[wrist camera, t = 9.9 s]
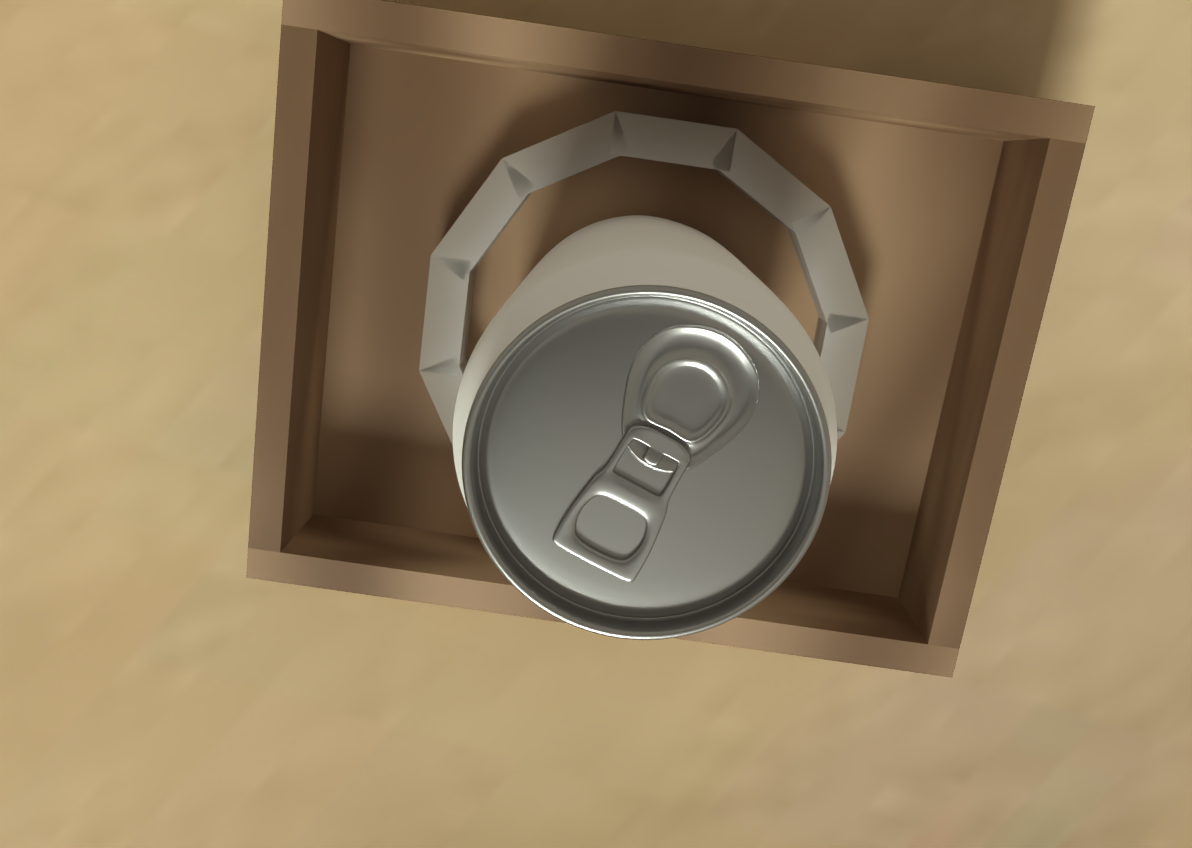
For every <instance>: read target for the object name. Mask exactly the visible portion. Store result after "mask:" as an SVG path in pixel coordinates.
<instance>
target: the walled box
mask: <svg viewBox="0 0 1192 848" xmlns="http://www.w3.org/2000/svg"><path fill="white" fill-rule="evenodd" d="M1094 108H1095V106H1090V105H1083V104H1076V103H1070V102H1063V101H1056V100H1049V99H1043V98H1036V97H1029V96H1022V95H1016V94H1009V93H1002V92H996V91H989V90H982V89H975V88H969V87H962V86H955V85H948V84H942V83H935V82H928V81H921V80H915V79H908V78H901V77H895V76H888V75H881V74H874V73H868V72H861V71H854V70H847V69H841V68H834V67H827V66H820V65H814V64H807V63H800V62H794V61H787V60H780V59H773V58H767V57H760V56H753V55H746V54H740V53H733V52H726V51H719V50H713V49H706V48H699V47H693V46H686V45H679V44H672V43H666V42H659V41H652V40H645V39H639V38H632V37H625V36H618V35H612V34H605V33H598V32H591V31H585V30H578V29H571V28H565V27H558V26H551V25H544V24H538V23H531V22H524V21H517V20H511V19H504V18H497V17H490V16H484V15H477V14H470V13H464V12H457V11H450V10H443V9H437V8H430V7H423V6H416V5H410V4H403V3H396V2H389V1H383V0H283V7H282V23H281V39H280V54H279V70H278V86H277V102H276V118H275V133H274V149H273V165H272V181H271V196H270V212H269V228H268V244H267V259H266V275H265V291H264V307H263V322H262V338H261V354H260V370H259V385H258V401H257V417H256V433H255V448H254V464H253V480H252V496H251V511H250V527H249V543H248V559H247V575H246V578H253V579H260V580H267V581H274V582H281V583H288V584H295V585H302V586H309V587H316V588H323V589H330V590H338V591H345V592H352V593H359V594H366V595H373V596H380V597H387V598H394V599H401V600H408V601H415V602H422V603H429V604H436V605H443V606H450V607H458V608H465V609H472V610H479V611H486V612H493V613H500V614H507V615H514V616H521V617H528V618H535V619H542V620H549V621H556V622H563V623H566V622H564V621H562V620H560V619H558V618H556V617H554V616H552V615H551V614H549V613H547V612H546V611H544V610H542V609H541V608H539V607H538V606H536V605H535V604H534V603H532V602H531V601H530V600H529V599H527V598H526V597H525V596H524V595H522V594H521V593H520V592H519V591H518V590H517V589H516V588H515V587H514V586H513V585H512V584H511V583H510V582H509V581H508V580H507V579H506V578H505V577H504V575H503V574H502V573H501V572H500V571H499V569H498V568H497V567H496V565H495V564H494V563H493V561H492V560H491V558H490V557H489V555H488V554H487V552H486V550H485V549H484V547H483V545H482V543H481V541H480V539H479V537H478V535H477V533H476V530H475V528H474V526H473V523H472V520H471V517H470V514H469V511H468V508H467V506H466V503H465V501H464V498H463V495H462V492H461V489H460V486H459V482H458V478H457V474H456V469H455V463H454V454H453V419H454V411H455V404H456V399H457V394H458V390H459V386H460V383H461V379H462V376H463V373H464V371H465V368H466V365H467V363H468V361H469V358H470V356H471V354H472V352H473V350H474V348H475V346H476V344H477V343H478V341H479V339H480V338H481V336H482V334H483V333H484V331H485V329H486V328H487V326H488V325H489V323H490V322H491V321H492V319H493V318H494V316H495V315H496V314H497V312H498V311H499V310H500V309H501V307H502V306H503V305H504V303H505V302H506V301H507V300H508V298H509V297H510V296H511V295H512V293H513V292H514V291H515V290H516V289H517V287H518V286H519V285H520V284H521V282H522V281H523V280H524V279H525V278H526V277H527V275H528V274H529V273H530V272H531V271H532V270H533V268H534V267H535V266H536V265H537V264H538V263H539V262H540V260H541V259H542V258H543V257H544V256H545V255H546V254H547V253H548V252H549V251H550V250H551V249H552V248H554V247H555V246H556V245H557V244H558V243H560V242H561V241H562V240H564V239H565V238H567V237H568V236H570V235H571V234H573V233H574V232H576V231H578V230H580V229H582V228H584V227H586V226H588V225H591V224H593V223H596V222H599V221H602V220H606V219H610V218H614V217H620V216H630V215H644V216H653V217H659V218H664V219H668V220H671V221H675V222H678V223H681V224H684V225H686V226H689V227H691V228H694V229H696V230H698V231H700V232H702V233H704V234H705V235H707V236H709V237H710V238H712V239H713V240H715V241H716V242H718V243H719V244H720V245H722V246H723V247H724V248H725V249H727V250H728V251H729V252H730V253H731V254H733V255H734V256H735V257H736V258H737V259H738V260H739V261H740V262H741V263H743V264H744V265H745V266H746V267H747V268H748V269H749V270H750V271H751V272H752V273H753V274H754V275H755V276H757V277H758V278H759V279H760V280H761V281H762V282H763V283H764V284H765V285H766V286H767V287H768V288H769V289H770V290H771V291H772V292H773V293H774V294H775V295H776V296H777V297H778V298H779V299H780V300H781V301H782V302H783V303H784V304H785V305H786V307H787V308H788V309H789V310H790V311H791V313H792V314H793V315H794V316H795V318H796V319H797V320H798V321H799V323H800V324H801V325H802V327H803V328H804V330H805V331H806V333H807V334H808V336H809V337H810V339H811V341H812V343H813V344H814V346H815V348H816V350H817V352H818V354H819V356H820V358H821V361H822V363H823V366H824V368H825V371H826V374H827V377H828V380H829V383H830V386H831V390H832V394H833V398H834V403H835V410H836V418H837V452H836V460H835V467H834V472H833V476H832V480H831V484H830V489H829V494H828V499H827V503H826V507H825V511H824V514H823V517H822V520H821V523H820V525H819V527H818V530H817V532H816V534H815V536H814V539H813V541H812V542H811V544H810V546H809V548H808V550H807V551H806V553H805V555H804V556H803V558H802V559H801V560H800V562H799V563H798V565H797V566H796V567H795V569H794V570H793V571H792V572H791V574H790V575H789V576H788V577H787V578H786V579H785V580H784V581H783V582H782V583H781V584H780V585H779V586H778V587H777V588H776V589H775V590H774V591H773V592H772V593H771V594H770V595H769V596H767V597H766V598H765V599H764V600H762V601H761V602H760V603H758V604H757V605H756V606H754V607H753V608H751V609H750V610H748V611H746V612H745V613H743V614H741V615H740V616H738V617H736V618H734V619H732V620H730V621H728V622H726V623H724V624H721V625H719V626H717V627H714V628H711V629H708V630H705V631H702V632H699V633H695V634H691V635H687V636H682V637H677V638H676V639H683V640H691V641H698V642H705V643H712V644H719V645H726V646H733V647H740V648H747V649H754V650H761V651H768V652H775V653H782V654H789V655H796V656H803V657H811V658H818V659H825V660H832V661H839V662H846V663H853V664H860V665H867V666H874V667H881V668H888V669H895V670H902V671H909V672H916V673H923V674H931V675H938V676H945V677H952V676H953V672H954V668H955V664H956V660H957V656H958V652H959V648H960V644H961V640H962V636H963V632H964V628H965V624H966V620H967V616H968V612H969V608H970V604H971V600H972V596H973V592H974V588H975V584H976V580H977V576H978V572H979V568H980V564H981V560H982V556H983V552H984V548H985V544H986V540H987V536H988V532H989V528H990V524H991V520H992V516H993V512H994V508H995V504H996V500H997V496H998V492H999V488H1000V484H1001V480H1002V476H1003V472H1004V468H1005V464H1006V460H1007V456H1008V452H1009V448H1010V444H1011V440H1012V436H1013V432H1014V428H1015V424H1016V420H1017V416H1018V412H1019V408H1020V404H1021V400H1022V396H1023V392H1024V388H1025V384H1026V380H1027V376H1028V372H1029V368H1030V364H1031V360H1032V356H1033V352H1034V348H1035V344H1036V340H1037V336H1038V332H1039V328H1040V324H1041V320H1042V316H1043V312H1044V308H1045V304H1046V300H1047V296H1048V292H1049V288H1050V284H1051V280H1052V276H1053V272H1054V268H1055V264H1056V260H1057V256H1058V252H1059V248H1060V244H1061V240H1062V236H1063V232H1064V228H1065V224H1066V220H1067V216H1068V212H1069V208H1070V204H1071V200H1072V196H1073V192H1074V188H1075V184H1076V180H1077V176H1078V172H1079V168H1080V164H1081V160H1082V156H1083V152H1084V148H1085V144H1086V140H1087V136H1088V132H1089V128H1090V124H1091V120H1092V116H1093V112H1094Z"/></svg>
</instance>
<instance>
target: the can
mask: <svg viewBox="0 0 1192 848" xmlns="http://www.w3.org/2000/svg"><path fill="white" fill-rule="evenodd" d="M836 452H837V418H836V410H835V403H834V398H833V394H832V390H831V386H830V383H829V380H828V377H827V374H826V371H825V368H824V366H823V363H822V361H821V358H820V356H819V354H818V352H817V350H816V348H815V346H814V344H813V343H812V341H811V339H810V337H809V336H808V334H807V333H806V331H805V330H804V328H803V327H802V325H801V324H800V323H799V321H798V320H797V319H796V318H795V316H794V315H793V314H792V313H791V311H790V310H789V309H788V308H787V307H786V305H785V304H784V303H783V302H782V301H781V300H780V299H779V298H778V297H777V296H776V295H775V294H774V293H773V292H772V291H771V290H770V289H769V288H768V287H767V286H766V285H765V284H764V283H763V282H762V281H761V280H760V279H759V278H758V277H757V276H755V275H754V274H753V273H752V272H751V271H750V270H749V269H748V268H747V267H746V266H745V265H744V264H743V263H741V262H740V261H739V260H738V259H737V258H736V257H735V256H734V255H733V254H731V253H730V252H729V251H728V250H727V249H725V248H724V247H723V246H722V245H720V244H719V243H718V242H716V241H715V240H713V239H712V238H710V237H709V236H707V235H705V234H704V233H702V232H700V231H698V230H696V229H694V228H691V227H689V226H686V225H684V224H681V223H678V222H675V221H671V220H668V219H664V218H659V217H653V216H644V215H630V216H620V217H614V218H610V219H606V220H602V221H599V222H596V223H593V224H591V225H588V226H586V227H584V228H582V229H580V230H578V231H576V232H574V233H573V234H571V235H570V236H568V237H567V238H565V239H564V240H562V241H561V242H560V243H558V244H557V245H556V246H555V247H554V248H552V249H551V250H550V251H549V252H548V253H547V254H546V255H545V256H544V257H543V258H542V259H541V260H540V262H539V263H538V264H537V265H536V266H535V267H534V268H533V270H532V271H531V272H530V273H529V274H528V275H527V277H526V278H525V279H524V280H523V281H522V282H521V284H520V285H519V286H518V287H517V289H516V290H515V291H514V292H513V293H512V295H511V296H510V297H509V298H508V300H507V301H506V302H505V303H504V305H503V306H502V307H501V309H500V310H499V311H498V312H497V314H496V315H495V316H494V318H493V319H492V321H491V322H490V323H489V325H488V326H487V328H486V329H485V331H484V333H483V334H482V336H481V338H480V339H479V341H478V343H477V344H476V346H475V348H474V350H473V352H472V354H471V356H470V358H469V361H468V363H467V365H466V368H465V371H464V373H463V376H462V379H461V383H460V386H459V390H458V394H457V399H456V404H455V411H454V419H453V454H454V463H455V469H456V474H457V478H458V482H459V486H460V489H461V492H462V495H463V498H464V501H465V503H466V506H467V508H468V511H469V514H470V517H471V520H472V523H473V526H474V528H475V530H476V533H477V535H478V537H479V539H480V541H481V543H482V545H483V547H484V549H485V550H486V552H487V554H488V555H489V557H490V558H491V560H492V561H493V563H494V564H495V565H496V567H497V568H498V569H499V571H500V572H501V573H502V574H503V575H504V577H505V578H506V579H507V580H508V581H509V582H510V583H511V584H512V585H513V586H514V587H515V588H516V589H517V590H518V591H519V592H520V593H521V594H522V595H524V596H525V597H526V598H527V599H529V600H530V601H531V602H532V603H534V604H535V605H536V606H538V607H539V608H541V609H542V610H544V611H546V612H547V613H549V614H551V615H552V616H554V617H556V618H558V619H560V620H562V621H564V622H566V623H568V624H571V625H573V626H575V627H578V628H581V629H583V630H587V631H590V632H593V633H597V634H601V635H605V636H610V637H615V638H623V639H633V640H659V639H669V638H677V637H682V636H687V635H691V634H695V633H699V632H702V631H705V630H708V629H711V628H714V627H717V626H719V625H721V624H724V623H726V622H728V621H730V620H732V619H734V618H736V617H738V616H740V615H741V614H743V613H745V612H746V611H748V610H750V609H751V608H753V607H754V606H756V605H757V604H758V603H760V602H761V601H762V600H764V599H765V598H766V597H767V596H769V595H770V594H771V593H772V592H773V591H774V590H775V589H776V588H777V587H778V586H779V585H780V584H781V583H782V582H783V581H784V580H785V579H786V578H787V577H788V576H789V575H790V574H791V572H792V571H793V570H794V569H795V567H796V566H797V565H798V563H799V562H800V560H801V559H802V558H803V556H804V555H805V553H806V551H807V550H808V548H809V546H810V544H811V542H812V541H813V539H814V536H815V534H816V532H817V530H818V527H819V525H820V523H821V520H822V517H823V514H824V511H825V507H826V503H827V499H828V494H829V489H830V484H831V480H832V476H833V472H834V467H835V460H836Z"/></svg>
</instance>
